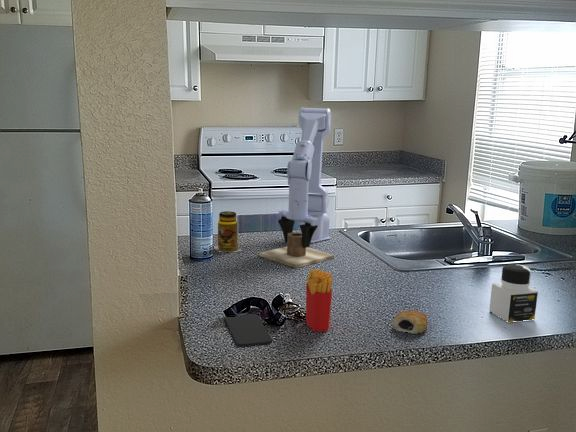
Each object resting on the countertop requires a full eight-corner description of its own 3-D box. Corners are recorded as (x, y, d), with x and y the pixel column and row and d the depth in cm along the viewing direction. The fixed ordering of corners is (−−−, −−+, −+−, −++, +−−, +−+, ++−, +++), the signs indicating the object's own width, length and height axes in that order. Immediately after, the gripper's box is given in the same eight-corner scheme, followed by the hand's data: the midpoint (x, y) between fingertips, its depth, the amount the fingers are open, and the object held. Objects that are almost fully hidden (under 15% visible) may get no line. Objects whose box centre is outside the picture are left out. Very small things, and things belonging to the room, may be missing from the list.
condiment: (221, 254, 174) (221, 215, 171) (211, 247, 181) (211, 210, 179) (243, 251, 177) (243, 213, 175) (232, 244, 185) (232, 208, 182)
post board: (296, 247, 184) (297, 232, 183) (333, 258, 172) (334, 242, 171) (259, 255, 173) (259, 239, 172) (296, 268, 162) (296, 251, 160)
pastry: (404, 316, 129) (405, 300, 128) (433, 323, 126) (435, 307, 125) (389, 330, 121) (391, 314, 120) (420, 338, 118) (422, 321, 117)
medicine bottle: (508, 323, 126) (514, 272, 124) (488, 312, 133) (493, 262, 130) (535, 321, 128) (541, 270, 126) (514, 309, 135) (520, 260, 132)
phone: (256, 313, 127) (273, 341, 113) (256, 317, 127) (273, 345, 113) (223, 316, 125) (237, 344, 111) (223, 320, 125) (237, 348, 111)
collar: (296, 250, 176) (297, 231, 175) (309, 254, 172) (310, 235, 171) (283, 253, 172) (283, 234, 171) (296, 257, 168) (296, 238, 167)
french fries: (301, 319, 125) (303, 267, 123) (318, 317, 127) (320, 265, 124) (317, 334, 118) (320, 279, 115) (335, 332, 119) (337, 277, 116)
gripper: (271, 198, 171) (271, 241, 174) (306, 205, 161) (304, 252, 164) (288, 195, 176) (287, 238, 179) (323, 203, 166) (321, 247, 169)
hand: (296, 244), depth 172 cm, fingers open, 7 cm apart
